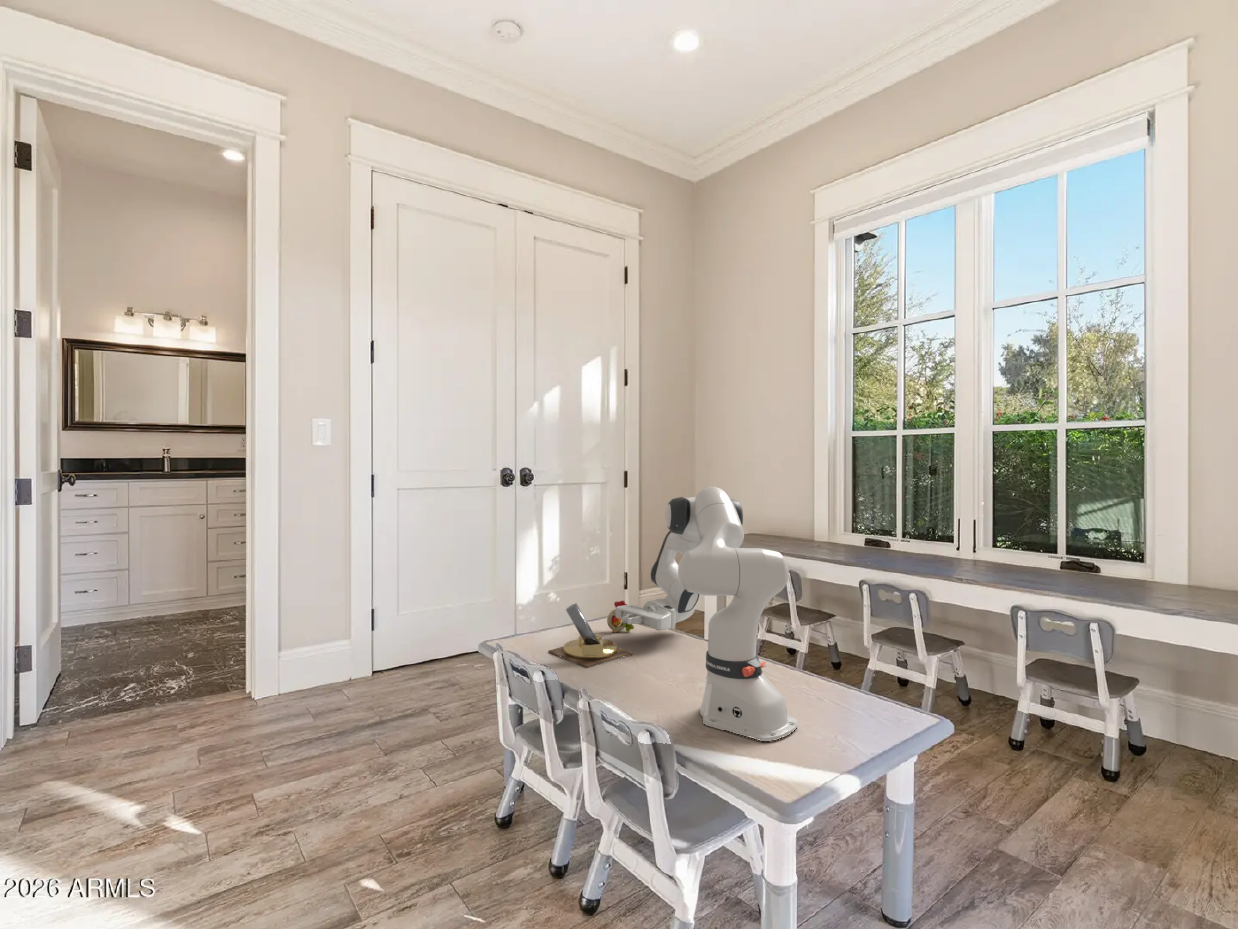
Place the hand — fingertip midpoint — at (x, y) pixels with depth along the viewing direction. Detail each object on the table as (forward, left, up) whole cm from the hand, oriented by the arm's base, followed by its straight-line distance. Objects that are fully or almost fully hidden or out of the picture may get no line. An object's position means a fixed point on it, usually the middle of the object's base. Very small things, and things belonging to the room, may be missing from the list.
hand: (625, 621), depth 194 cm
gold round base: (+4, +11, -9) cm, 14 cm away
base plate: (+4, +11, -9) cm, 14 cm away
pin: (-1, +14, -5) cm, 15 cm away
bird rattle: (+15, -12, -9) cm, 21 cm away
